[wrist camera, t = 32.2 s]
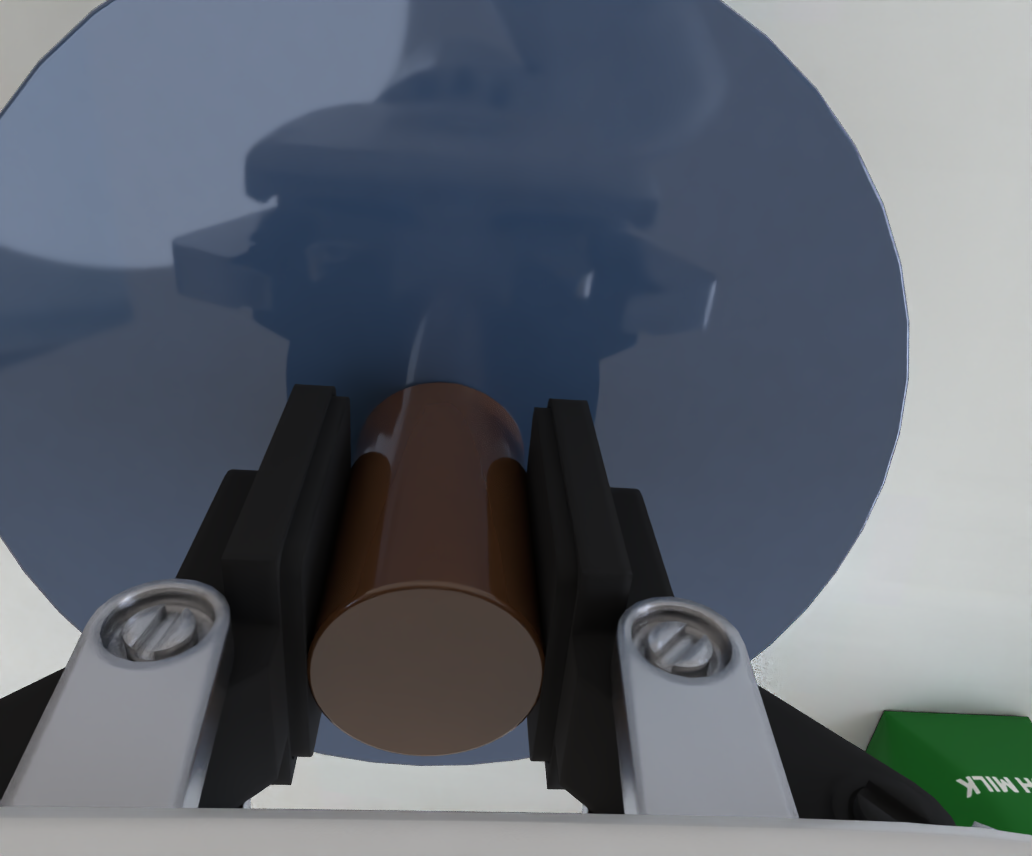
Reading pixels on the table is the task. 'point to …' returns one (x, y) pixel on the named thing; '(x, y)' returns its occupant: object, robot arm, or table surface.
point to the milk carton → (964, 763)
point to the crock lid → (441, 317)
